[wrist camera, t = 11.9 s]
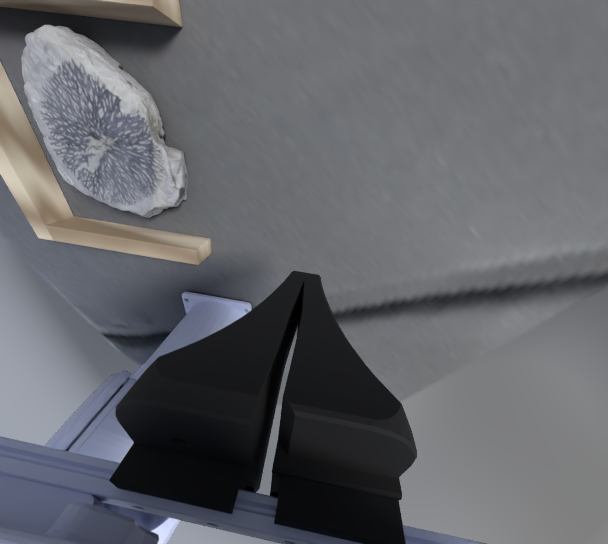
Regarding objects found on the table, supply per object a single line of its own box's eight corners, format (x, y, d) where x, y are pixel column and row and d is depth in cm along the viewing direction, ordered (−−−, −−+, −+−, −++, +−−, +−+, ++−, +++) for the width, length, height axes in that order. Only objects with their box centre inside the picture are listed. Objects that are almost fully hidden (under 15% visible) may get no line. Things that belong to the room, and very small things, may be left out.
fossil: (200, 182, 15) (100, 248, 17) (220, 183, 19) (137, 237, 21) (67, -17, 12) (-44, 93, 13) (124, 33, 16) (32, 114, 17)
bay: (212, 252, 21) (198, 264, 19) (66, 228, 22) (38, 237, 20) (177, -11, 12) (144, -41, 10) (-67, -37, 13) (-145, -70, 11)
